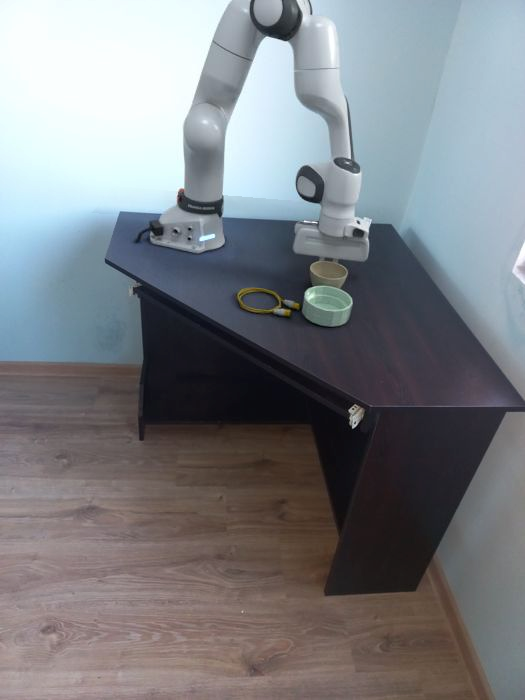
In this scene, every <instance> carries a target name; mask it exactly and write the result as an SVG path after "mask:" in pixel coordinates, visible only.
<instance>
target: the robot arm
mask: <svg viewBox="0 0 525 700" xmlns="http://www.w3.org/2000/svg"><path fill="white" fill-rule="evenodd" d="M266 38H271V39H275V40H278V41H282V42H287V43H288V44H289V45H290V47H291V50H292V56H293V88H294V94H295V96H296V99H297V100H298V102H299V103H300V104H301V105H302V106H303V107H304V108H305V109H307V110H308V111H310V112H312V113H314V114H317V115H319V116H320V117H321V118H322V119H323V120H324V122H325V123H326V125H327V129H328V138H329V146H330V158H329V160H324V161H318V162H312V163H307V164H304V165H302V166H301V167H299V169H298V171H297V172H296V176H295V183H294V184H295V189H296V193H297V195H298V196H299V197H300V198H301V199H302V201H305V202H308V203H312V204H316V205H318V204H319V205H320V212H319V216H318V217H319V218H318V220H308V219H301V220H299V221H297V222H296V223H295V224H294V229H293V232H294V234H295V235H294V239H293V242H292V251H293V253H294V254H296V255H302V256H303V255H304V256H310V257H318V261H326V260H325V259H327V258H328V259H332V261H331V262H335V263H338V264H339V260H345V261H352V262H358V263H359V262H361V263H364V262H365V261H367V260H368V258H369V252H370V240H369V235H370V227H369V228H368V225H367V223H366V222H365V221H363V220H360V219H361V218H360V219H358V218H359V217H358V218H356V217H357V216H356V213H355V212H356V210H355V208H356V205H357V203H358V201H359V197H360V192H361V187H362V178H363V177H362V176H363V175H362V174H363V173H362V167H361V165H360V164H359V163H358V162H357V161H356V159H355V153H354V151H355V150H354V142H353V141H354V140H353V132H352V129H353V128H352V120H351V111H350V105H349V101H348V99H347V96H346V95H345V93H344V91H343V87H342V81H341V69H340V68H341V57H340V55H341V54H340V44H339V35H338V31H337V25H336V23H335V21H333V20H332V19H331V18H329V17H328V16H324V15H321V14H320V15H319V14H316V15H314V14H313V6H312V2H311V0H231V1H229V3H228V4H227V6H226V8H225V10H224V11H223V13H222V15H221V17H220V20H219V21H218V24H217V26H216V29H215V32H214V34H213V36H212V39H211V43H210V45H209V48H208V52H207V54H206V58H205V60H204V63H203V66H202V69H201V71H200V72H201V73H200V76H199V79H198V83H197V86H196V89H195V92H194V96H193V99H192V103H191V104H190V107H189V110H188V113H187V114H186V116H185V118H184V121H183V124H182V146H183V147H182V149H183V161H184V177H183V178H184V179H183V180H184V181H183V183H184V185H183V187H184V188H179V189H178V191H177V196H176V204H174V205H173V206H172V207H170V208H168V209H166V210H164V212H163V213H162V214H161V215H160V216H159V219H152V220H149V226H148V227H146V228H144V229H142V230H140V231H139V233H138V234H137V238H135V239H134V241H135V243H139V242H140V241H141V239H142V236H143V235H144V234H145V233H149V232H150V233H149V241H150V242H151V244H152V245H157V246H161V247H165V248H170V249H175V250H180V251H183V252H189V253H193V254H201V253H204V252H206V251H211V250H212V251H213V250H216V249H219V248H221V247H223V245H225V243H226V239H225V233H224V228H223V214H224V209H225V207H224V206H225V197H224V195H223V193H224V180H225V179H224V178H225V151H226V136H227V135H226V134H227V130H228V126H229V123H230V121H231V119H232V115H233V113H234V111H235V108H236V105H237V103H238V101H239V98H240V96H241V94H242V91H243V88H244V87H245V83H246V81H247V78H248V76H249V73H250V70H251V67H252V65H253V64H254V63H253V62H254V59H255V57H256V55H257V52H258V49H259V47H260V45H261V43H262V41H263V40H264V39H266ZM354 216H355V217H354Z"/></svg>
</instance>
